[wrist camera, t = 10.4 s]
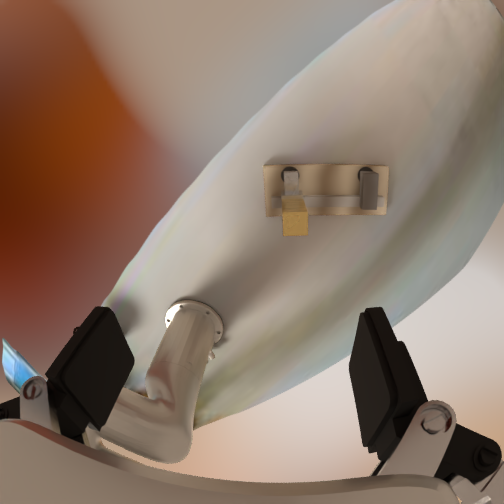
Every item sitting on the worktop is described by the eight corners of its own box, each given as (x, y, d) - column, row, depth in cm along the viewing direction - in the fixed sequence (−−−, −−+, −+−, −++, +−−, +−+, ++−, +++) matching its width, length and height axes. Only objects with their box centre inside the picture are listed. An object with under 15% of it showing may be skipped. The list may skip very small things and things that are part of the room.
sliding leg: (300, 169, 40) (307, 182, 31) (301, 213, 43) (307, 239, 34) (280, 169, 40) (281, 183, 31) (282, 213, 43) (283, 239, 34)
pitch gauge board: (385, 165, 40) (395, 170, 36) (382, 211, 43) (391, 220, 39) (263, 165, 42) (262, 169, 38) (266, 213, 45) (265, 222, 42)
